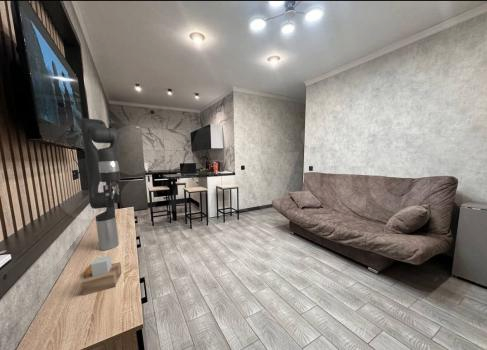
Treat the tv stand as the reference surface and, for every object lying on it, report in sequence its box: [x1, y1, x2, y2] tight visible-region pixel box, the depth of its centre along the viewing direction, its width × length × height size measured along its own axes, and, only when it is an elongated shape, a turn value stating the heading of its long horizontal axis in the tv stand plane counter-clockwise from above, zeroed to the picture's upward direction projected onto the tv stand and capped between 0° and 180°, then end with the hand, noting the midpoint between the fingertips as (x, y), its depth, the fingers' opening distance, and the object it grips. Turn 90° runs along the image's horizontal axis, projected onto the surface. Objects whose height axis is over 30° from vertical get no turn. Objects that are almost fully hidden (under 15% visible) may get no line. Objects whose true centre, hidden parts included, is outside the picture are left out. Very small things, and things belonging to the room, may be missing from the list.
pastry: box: [83, 262, 93, 279], centre depth 80 cm, size 9×7×4 cm
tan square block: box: [81, 261, 122, 296], centre depth 73 cm, size 10×10×5 cm
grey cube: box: [90, 254, 113, 277], centre depth 72 cm, size 5×5×5 cm
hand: (114, 205), depth 84 cm, fingers open, 8 cm apart
